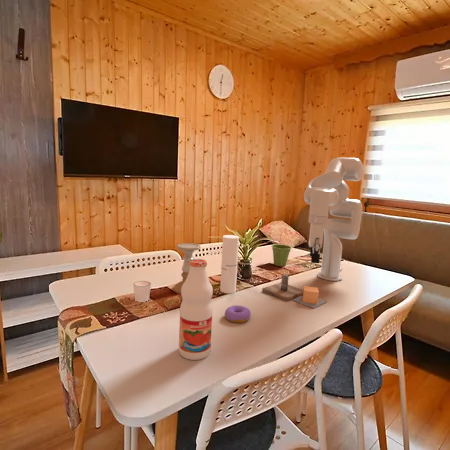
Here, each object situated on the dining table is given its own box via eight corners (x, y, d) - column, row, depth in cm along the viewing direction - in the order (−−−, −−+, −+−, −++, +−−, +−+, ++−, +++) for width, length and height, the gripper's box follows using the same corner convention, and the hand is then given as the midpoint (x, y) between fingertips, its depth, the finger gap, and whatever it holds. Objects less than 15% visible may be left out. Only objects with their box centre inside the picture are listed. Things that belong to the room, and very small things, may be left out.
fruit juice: (204, 341, 101) (207, 255, 96) (215, 357, 93) (219, 264, 88) (175, 346, 97) (177, 257, 93) (184, 363, 89) (187, 267, 84)
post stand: (280, 285, 155) (282, 268, 154) (305, 294, 145) (307, 276, 144) (262, 291, 146) (263, 274, 144) (287, 301, 136) (288, 283, 134)
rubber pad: (306, 295, 144) (306, 294, 144) (326, 302, 137) (326, 301, 137) (293, 300, 137) (293, 299, 137) (313, 308, 130) (313, 307, 130)
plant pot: (291, 268, 184) (293, 249, 182) (271, 267, 184) (272, 248, 182) (288, 262, 196) (289, 244, 194) (268, 261, 196) (270, 243, 194)
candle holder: (206, 289, 144) (208, 246, 141) (185, 296, 135) (187, 250, 132) (188, 282, 153) (190, 241, 149) (167, 288, 144) (168, 244, 140)
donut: (235, 309, 125) (237, 298, 124) (253, 321, 120) (256, 310, 118) (218, 317, 118) (221, 305, 116) (237, 330, 112) (240, 319, 111)
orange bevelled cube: (302, 296, 140) (303, 285, 140) (316, 298, 139) (317, 287, 138) (302, 302, 135) (304, 290, 134) (317, 304, 133) (318, 292, 133)
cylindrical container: (234, 294, 141) (237, 238, 137) (218, 292, 142) (221, 237, 138) (237, 288, 148) (240, 235, 144) (222, 286, 149) (224, 234, 145)
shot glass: (153, 298, 132) (154, 282, 131) (144, 304, 126) (144, 287, 124) (139, 295, 134) (139, 279, 133) (129, 301, 128) (129, 284, 127)
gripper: (307, 215, 140) (304, 253, 143) (309, 222, 123) (305, 264, 127) (325, 217, 139) (321, 255, 142) (329, 223, 122) (325, 266, 125)
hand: (314, 259), depth 134 cm, fingers open, 9 cm apart
